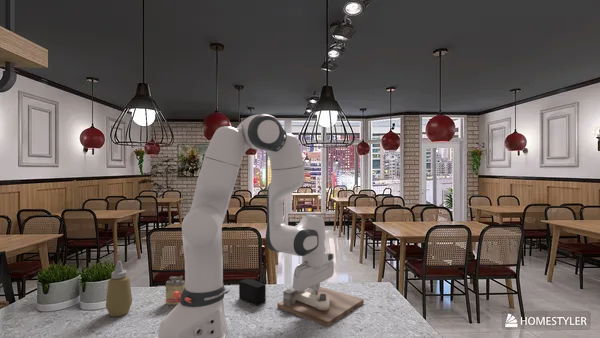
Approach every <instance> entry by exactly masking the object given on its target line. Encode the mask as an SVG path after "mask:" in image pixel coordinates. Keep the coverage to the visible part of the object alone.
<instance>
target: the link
mask: <svg viewBox="0 0 600 338" xmlns="http://www.w3.org/2000/svg"><path fill="white" fill-rule="evenodd" d="M295 300H298V301H300V302H303V303H305V304H308V305H310V306H313V307H315V308H317V309H318V310H322V311H324V310H328V309H329V308H330V300H329V299H327V298H326V300H325V301H321V300H320V297H319V296H317V295H314V294H311V293H309V292H306V291H303V292H300V293H298V294H296V295H295Z"/></svg>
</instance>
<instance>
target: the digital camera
mask: <svg viewBox="0 0 600 338" xmlns="http://www.w3.org/2000/svg"><path fill="white" fill-rule="evenodd" d="M238 283H239V284H238V286H239V287H238V289H239V290H238V291H239V292H238V294H239V295H238V299H239V300H240V301H241V300H242V301H244V302H246V303H248V304H251V305H253V306H256V307H258V306H259V307H260V306H262V305H264V304H265V303H266V302H267V301H266V300H267V299H266V298H267V297H266V294H267V293H266V292H267V291H266V290H267V289H266V285H267V284H266V283H262V282H259V281H257V280H256V279H255V278H252V279H250V278H245V279H242V280H239V281H238Z"/></svg>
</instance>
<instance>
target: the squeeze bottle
mask: <svg viewBox="0 0 600 338" xmlns="http://www.w3.org/2000/svg"><path fill="white" fill-rule="evenodd" d="M127 274H128V273H127V270H126V269H124V268H123V264H122V261H121V260H118V261H116V266H115V269H114V271H112V272H111V276H110V278H109V280H108V283H107V290H106V291H107V292H106V299H105V300H106V301H105V307H106V310H107V312H108V315H109V316H110V317H112V318H114V317H117V318H118V317H122V316H125V315H127V314H128V313H129V311H130V309H131V306H132V303H133V296H132V295H133V294H132V288H131V280H130V279H131V278H130V277H129V276H127Z"/></svg>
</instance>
